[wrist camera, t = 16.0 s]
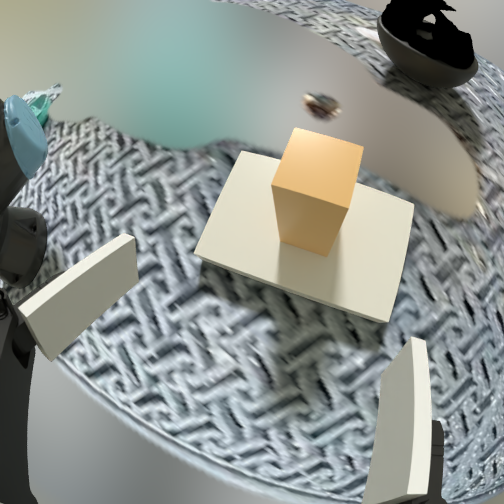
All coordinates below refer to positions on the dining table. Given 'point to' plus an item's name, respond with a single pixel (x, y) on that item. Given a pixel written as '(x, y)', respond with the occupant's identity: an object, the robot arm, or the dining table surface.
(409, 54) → the coal bowl
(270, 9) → the dining table surface
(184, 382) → the dining table surface
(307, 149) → the tan upright carton
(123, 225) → the dining table surface
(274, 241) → the plate
